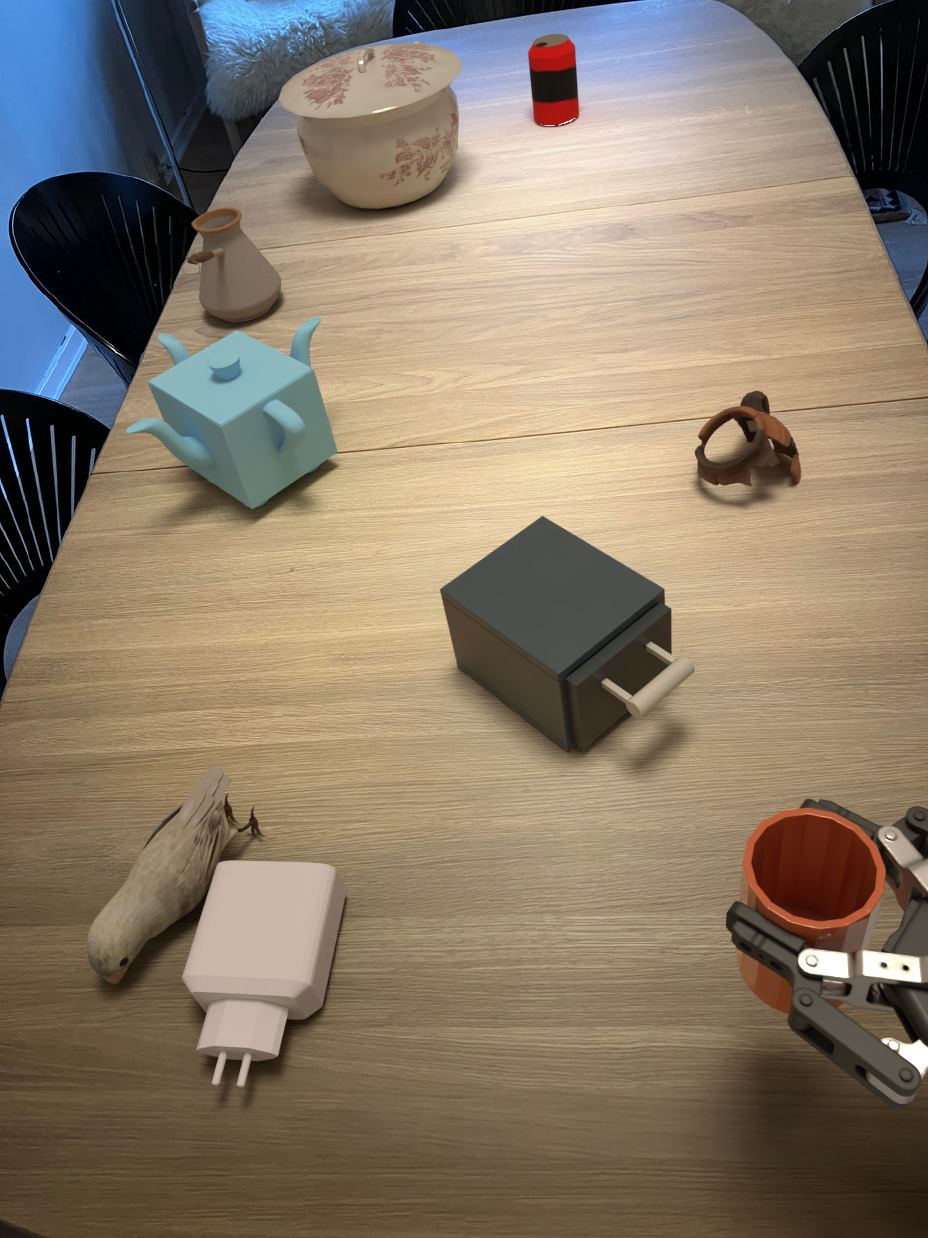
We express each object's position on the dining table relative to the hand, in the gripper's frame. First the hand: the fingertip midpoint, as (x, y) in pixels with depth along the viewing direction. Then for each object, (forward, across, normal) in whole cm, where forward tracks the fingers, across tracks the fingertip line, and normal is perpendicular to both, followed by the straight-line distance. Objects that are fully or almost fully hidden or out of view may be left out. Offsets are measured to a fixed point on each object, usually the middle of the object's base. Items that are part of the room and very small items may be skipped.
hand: (767, 861), depth 52 cm
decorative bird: (+38, -17, -21) cm, 47 cm away
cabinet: (+28, +18, -21) cm, 39 cm away
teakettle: (+75, +23, -21) cm, 81 cm away
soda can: (+101, +115, -21) cm, 155 cm away
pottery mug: (+28, +49, -21) cm, 61 cm away
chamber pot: (+110, +83, -21) cm, 140 cm away
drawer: (+24, +17, -20) cm, 36 cm away
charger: (+28, -18, -21) cm, 39 cm away
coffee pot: (+101, +43, -21) cm, 112 cm away
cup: (-2, 0, -8) cm, 8 cm away
